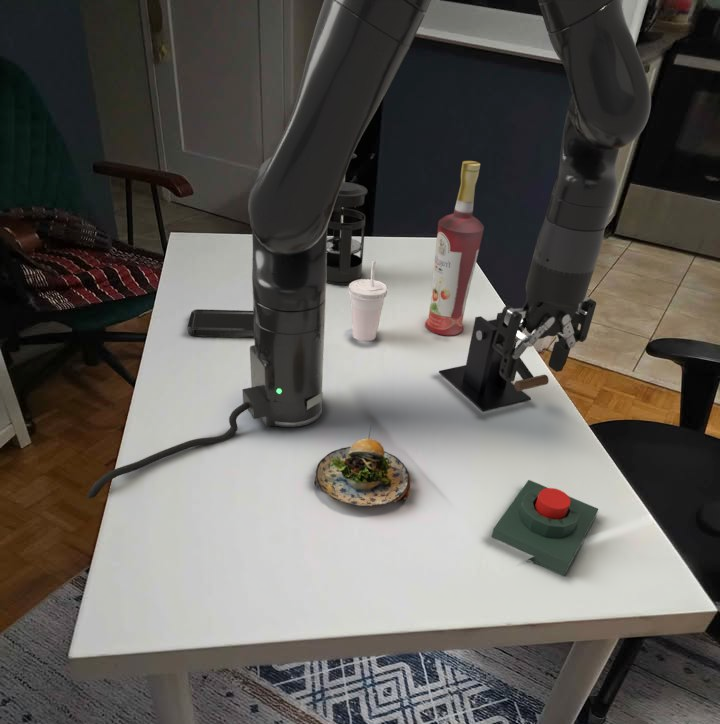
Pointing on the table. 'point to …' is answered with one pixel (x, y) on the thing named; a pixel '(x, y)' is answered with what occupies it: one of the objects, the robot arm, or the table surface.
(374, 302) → the smoothie
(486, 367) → the black stand
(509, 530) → the green piece
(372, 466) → the burger
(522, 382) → the toast lever
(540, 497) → the power button
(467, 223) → the liquor
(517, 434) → the table surface
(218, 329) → the phone
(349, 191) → the french press
